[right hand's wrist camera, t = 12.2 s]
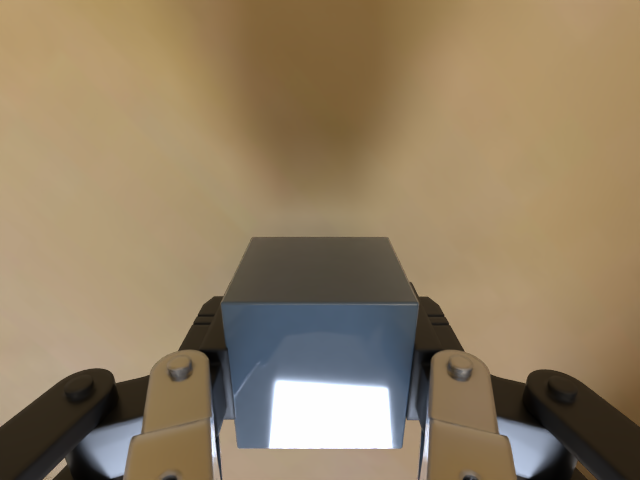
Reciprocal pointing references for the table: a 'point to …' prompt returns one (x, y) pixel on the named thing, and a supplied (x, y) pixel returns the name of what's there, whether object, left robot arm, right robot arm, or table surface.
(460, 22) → the table surface
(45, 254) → the table surface
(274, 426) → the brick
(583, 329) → the table surface
